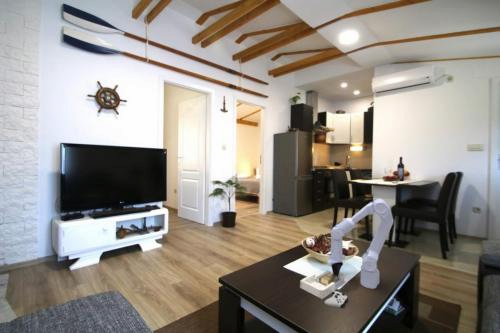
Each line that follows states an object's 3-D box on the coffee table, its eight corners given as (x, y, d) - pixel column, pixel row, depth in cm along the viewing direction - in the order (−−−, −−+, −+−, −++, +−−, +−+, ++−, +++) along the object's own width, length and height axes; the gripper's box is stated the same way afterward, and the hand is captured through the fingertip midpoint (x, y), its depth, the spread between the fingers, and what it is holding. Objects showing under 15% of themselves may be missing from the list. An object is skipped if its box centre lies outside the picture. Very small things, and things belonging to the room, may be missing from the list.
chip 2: (330, 277, 122) (330, 272, 122) (337, 280, 119) (337, 275, 118) (325, 279, 119) (325, 275, 119) (333, 283, 116) (333, 278, 116)
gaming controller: (331, 291, 108) (342, 285, 105) (341, 304, 106) (352, 298, 103) (322, 303, 100) (334, 296, 97) (332, 317, 97) (344, 311, 94)
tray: (313, 282, 119) (313, 273, 119) (334, 292, 110) (335, 283, 109) (300, 289, 112) (300, 280, 111) (321, 301, 102) (322, 291, 102)
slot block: (325, 275, 126) (325, 269, 126) (346, 284, 117) (346, 278, 117) (313, 281, 119) (313, 275, 119) (335, 292, 110) (335, 285, 110)
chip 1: (325, 280, 119) (325, 275, 119) (332, 283, 116) (332, 278, 116) (321, 282, 116) (321, 277, 116) (328, 286, 113) (328, 281, 113)
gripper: (336, 244, 129) (336, 268, 129) (322, 251, 120) (321, 276, 120) (348, 248, 124) (348, 273, 124) (334, 255, 114) (334, 282, 115)
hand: (335, 275), depth 122 cm, fingers closed
